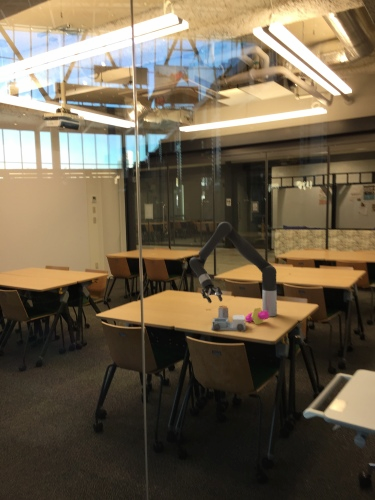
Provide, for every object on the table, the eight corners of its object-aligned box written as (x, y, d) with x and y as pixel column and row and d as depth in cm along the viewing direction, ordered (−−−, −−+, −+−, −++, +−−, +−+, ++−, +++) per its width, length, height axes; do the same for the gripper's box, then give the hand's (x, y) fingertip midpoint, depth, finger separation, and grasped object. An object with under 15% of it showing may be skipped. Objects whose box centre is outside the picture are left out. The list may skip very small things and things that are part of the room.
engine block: (224, 320, 265) (223, 305, 264) (228, 321, 261) (228, 306, 260) (218, 321, 263) (218, 306, 262) (222, 322, 259) (222, 307, 258)
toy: (254, 319, 268) (247, 306, 267) (276, 316, 255) (268, 302, 253) (247, 328, 262) (239, 315, 260) (268, 326, 248) (260, 312, 247)
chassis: (245, 324, 254) (245, 314, 253) (245, 331, 241) (245, 320, 240) (213, 324, 257) (213, 313, 256) (211, 330, 244) (211, 319, 243)
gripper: (199, 279, 270) (209, 299, 261) (216, 277, 277) (227, 297, 269) (195, 286, 275) (205, 306, 266) (212, 284, 282) (222, 303, 274)
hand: (216, 301), depth 268 cm, fingers open, 8 cm apart
